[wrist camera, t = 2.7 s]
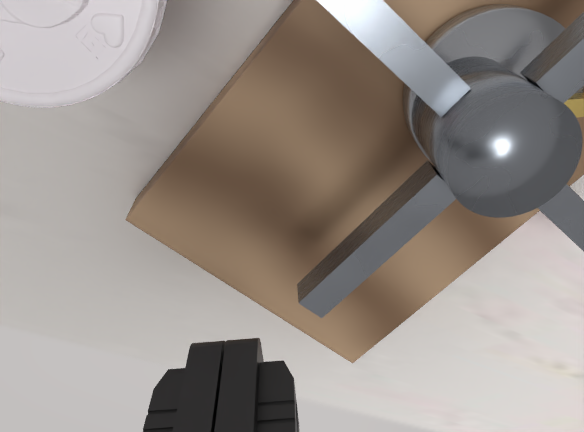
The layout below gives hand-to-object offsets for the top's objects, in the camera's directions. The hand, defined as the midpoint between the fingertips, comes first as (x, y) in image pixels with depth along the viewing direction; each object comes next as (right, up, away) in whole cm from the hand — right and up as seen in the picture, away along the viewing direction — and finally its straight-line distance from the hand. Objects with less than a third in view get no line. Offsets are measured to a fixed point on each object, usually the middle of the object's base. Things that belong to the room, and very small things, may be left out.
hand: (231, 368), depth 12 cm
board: (+6, +7, +12) cm, 15 cm away
